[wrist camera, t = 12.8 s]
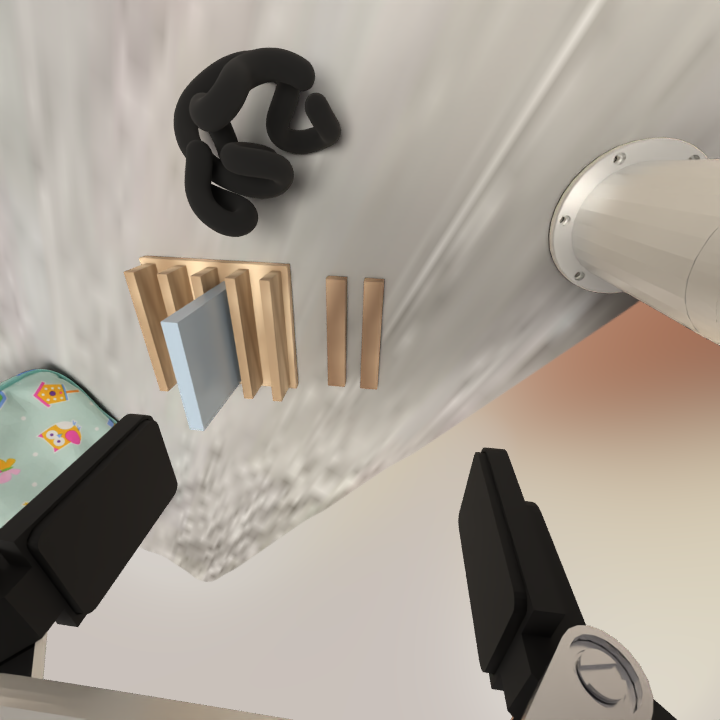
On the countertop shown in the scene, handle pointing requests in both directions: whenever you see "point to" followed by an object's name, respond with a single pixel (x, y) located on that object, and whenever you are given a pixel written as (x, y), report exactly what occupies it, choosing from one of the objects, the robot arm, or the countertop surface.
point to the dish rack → (247, 309)
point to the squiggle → (241, 159)
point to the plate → (203, 355)
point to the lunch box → (42, 433)
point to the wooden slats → (338, 326)
